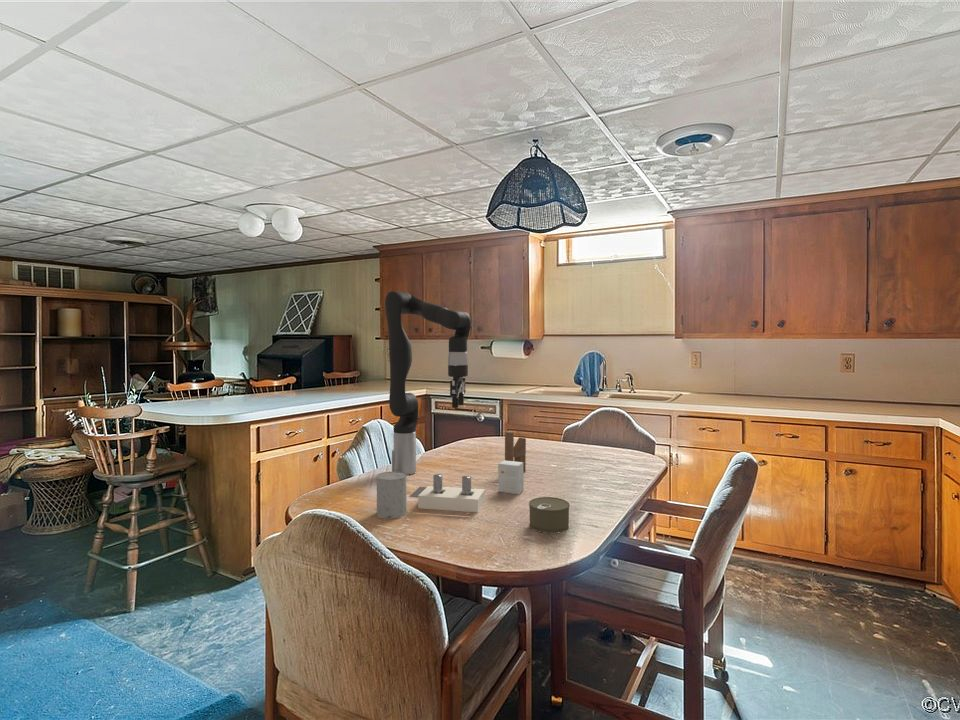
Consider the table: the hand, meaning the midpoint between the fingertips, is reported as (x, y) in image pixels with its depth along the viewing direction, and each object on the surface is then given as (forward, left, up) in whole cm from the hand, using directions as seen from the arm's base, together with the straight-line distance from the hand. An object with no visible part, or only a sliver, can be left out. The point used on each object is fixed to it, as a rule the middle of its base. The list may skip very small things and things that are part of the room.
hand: (458, 406), depth 189 cm
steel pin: (-1, -24, -30) cm, 39 cm away
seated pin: (+9, -24, -30) cm, 40 cm away
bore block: (+4, -24, -30) cm, 39 cm away
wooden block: (+19, +20, -30) cm, 41 cm away
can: (+37, -35, -30) cm, 59 cm away
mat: (-6, -13, -30) cm, 33 cm away
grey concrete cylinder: (-13, -35, -30) cm, 48 cm away
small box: (+21, -4, -30) cm, 37 cm away
